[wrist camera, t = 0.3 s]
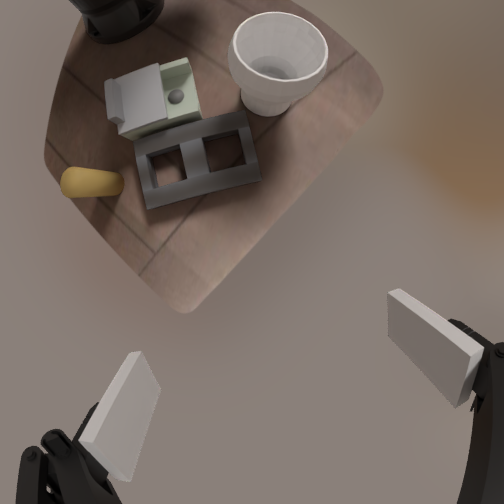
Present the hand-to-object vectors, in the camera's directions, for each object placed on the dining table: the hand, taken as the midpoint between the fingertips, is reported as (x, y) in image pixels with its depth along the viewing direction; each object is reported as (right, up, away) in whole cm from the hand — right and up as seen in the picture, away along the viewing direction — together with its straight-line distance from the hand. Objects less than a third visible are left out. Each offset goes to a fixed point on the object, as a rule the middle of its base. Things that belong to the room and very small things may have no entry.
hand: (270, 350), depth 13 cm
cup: (+1, +28, +22) cm, 36 cm away
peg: (-22, +15, +24) cm, 36 cm away
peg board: (-9, +18, +24) cm, 31 cm away
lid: (-16, +26, +17) cm, 35 cm away
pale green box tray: (-14, +27, +22) cm, 37 cm away
